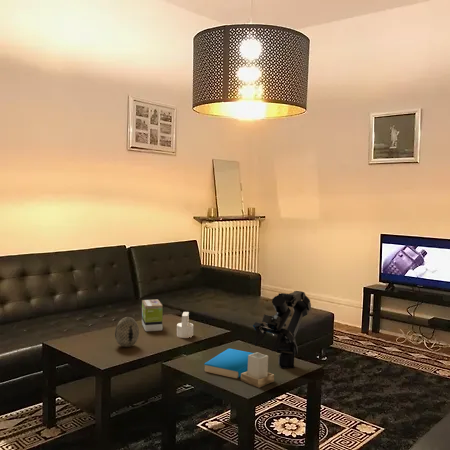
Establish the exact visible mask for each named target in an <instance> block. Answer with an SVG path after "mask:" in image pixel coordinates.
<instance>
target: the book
mask: <svg viewBox="0 0 450 450" xmlns="http://www.w3.org/2000/svg"><path fill="white" fill-rule="evenodd" d="M254 353H255V352H251V351H250V352H249V351H245V350H239V349H235V348H226V350H223V351H222V352H220V353H218V354H217V355H216V356H214V357H212V358H211V359H209V360H208V361H206V362H205V363H203V365H204V372H206V373H211V374H215V375H218V376H219V375H220V376H224V377H229V378H233V379H239V378H241V373H244V372H247V371H248V355H251V354H254Z"/></svg>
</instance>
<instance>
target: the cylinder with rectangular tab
mask: <svg viewBox="0 0 450 450" xmlns="http://www.w3.org/2000/svg"><path fill="white" fill-rule="evenodd" d="M189 315H190V312H189V311H183V312H182V314H181V322H178V323H177V324H176V337H177V338H180V339H188V338H189V337H190V338H192V336H194V324H193V323H191V322H189V321H190V317H189ZM190 338H189V339H190Z"/></svg>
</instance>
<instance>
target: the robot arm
mask: <svg viewBox="0 0 450 450" xmlns="http://www.w3.org/2000/svg"><path fill="white" fill-rule="evenodd" d="M271 303H272V305H273V308H274V310H275V313H274V315H269V314H268V315H267V314H263V317H262V320H261V322H260V321H254V323H253V324H252V327H253V328H254V330H255V339H254V346H255V347H257V346H258V345H259V344H260V342H261V341H262V340H263V339H264V338H265V334H266V333H270V334H274V335H276V336H277V337H276V340H275V341H274V343H273V345H272V347H271V349H270V350H271V351H272V352H274V351H276V353H277V354H278V357H277V360H278V362H277V363H278V365H279V367H280V369H295V368H296V367H295V356H297V355H298V350H299V347H298V345H297V341H296V335H297V332H298V330H299V328H300V325H301V323H302V320H303V318H305V317H306V316H307V315H308V314H309V312H310V311H311V308H312V304H311V299H310V298H309V297H308V296H307V295H306V292H304V291H302V290H294V291H293V292H290V293H286V292H284V293H283V292H280V293H278V295H275V296H273V298H272V299H271ZM290 308H293V314H292V311H291V309H290ZM289 317H291V319H290V321H289V323H288V325H287V324H286V323H287V321H288V318H289ZM264 323H265V324H264ZM265 325H266V326H265ZM284 327H285V328H286V327H287V328H286V329H285V328H284Z"/></svg>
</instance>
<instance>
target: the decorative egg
mask: <svg viewBox="0 0 450 450" xmlns="http://www.w3.org/2000/svg"><path fill="white" fill-rule="evenodd" d="M139 329H140V328H139V325H138V322H137V321H136V320H135V319H134V318H133V317H130V316H125V317H123V318H121V319H120V320H119V321H118V323H117V325H116V327H115V330H114V331H115V332H114V338H115V341H116V342H117V344H118V345H119V346H121V347H123V348H130V347H132V346H134V345H135V344H136V343H137V341H138V339H139V335H140V330H139Z"/></svg>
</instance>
